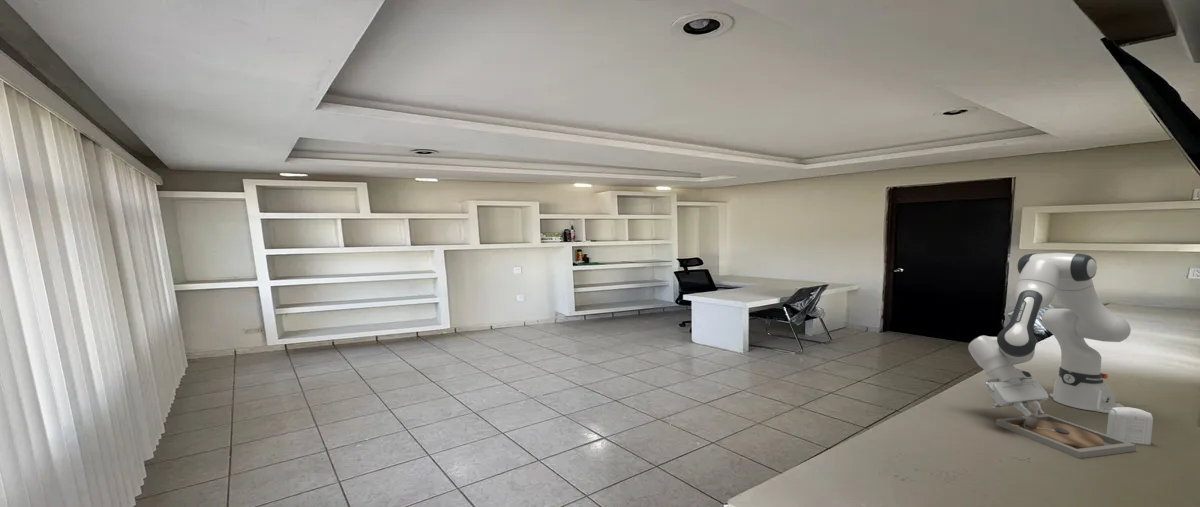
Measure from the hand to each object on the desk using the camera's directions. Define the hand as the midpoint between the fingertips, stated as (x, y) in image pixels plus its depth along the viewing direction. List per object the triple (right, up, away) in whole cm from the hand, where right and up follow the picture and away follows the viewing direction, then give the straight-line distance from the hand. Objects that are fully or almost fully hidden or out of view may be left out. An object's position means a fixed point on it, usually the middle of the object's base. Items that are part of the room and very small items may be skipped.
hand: (1035, 415), depth 153 cm
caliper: (+17, -7, +30) cm, 35 cm away
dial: (+7, -7, -2) cm, 10 cm away
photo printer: (+28, -9, -3) cm, 29 cm away
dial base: (+7, -8, -2) cm, 11 cm away
